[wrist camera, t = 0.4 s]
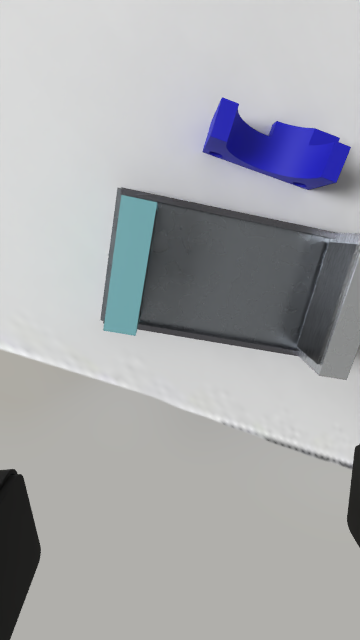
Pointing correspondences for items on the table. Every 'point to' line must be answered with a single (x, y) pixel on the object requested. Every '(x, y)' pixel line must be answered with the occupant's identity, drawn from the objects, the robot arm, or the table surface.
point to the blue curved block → (276, 149)
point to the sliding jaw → (130, 264)
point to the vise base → (250, 283)
